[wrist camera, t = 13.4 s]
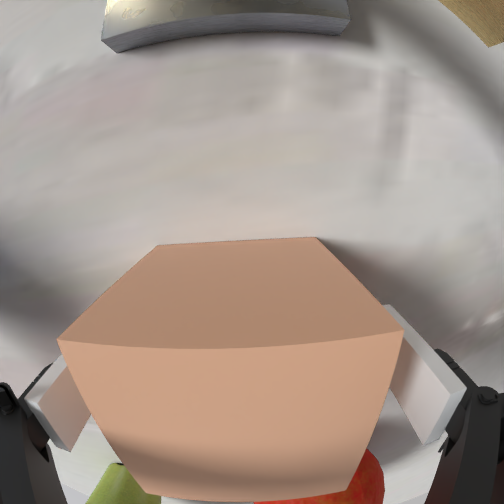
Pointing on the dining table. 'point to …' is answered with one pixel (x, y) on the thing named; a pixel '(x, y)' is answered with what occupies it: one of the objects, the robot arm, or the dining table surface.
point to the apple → (351, 487)
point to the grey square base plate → (216, 19)
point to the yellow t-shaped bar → (481, 18)
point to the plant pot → (120, 489)
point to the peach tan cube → (236, 369)
